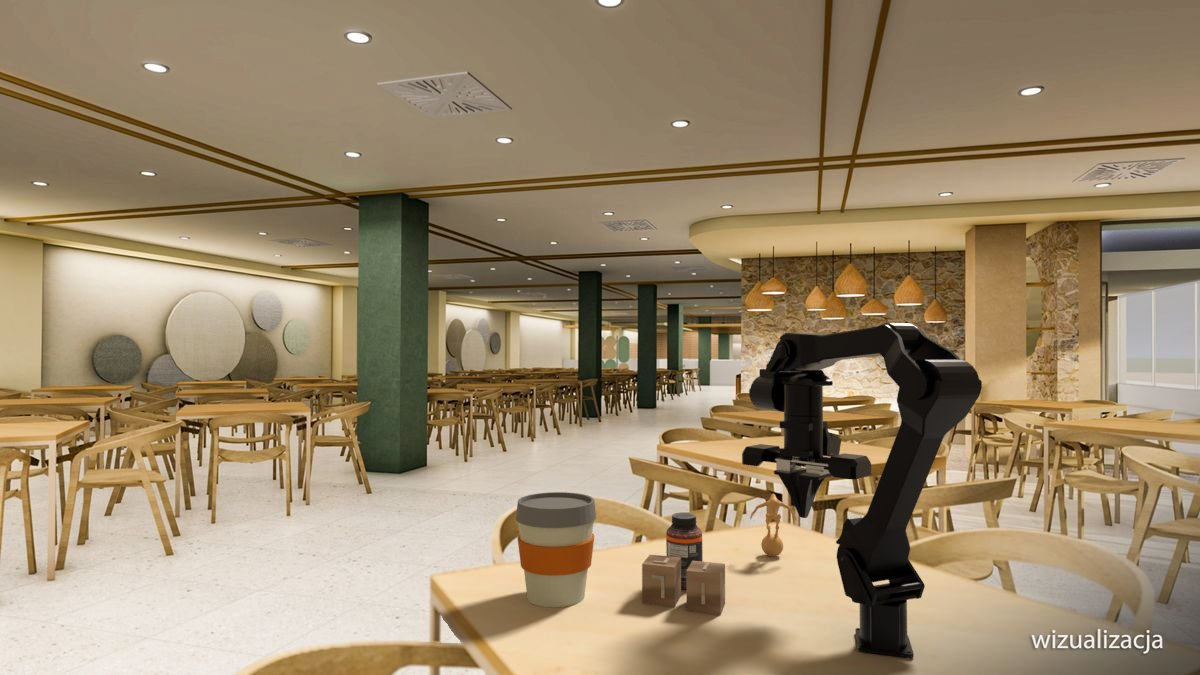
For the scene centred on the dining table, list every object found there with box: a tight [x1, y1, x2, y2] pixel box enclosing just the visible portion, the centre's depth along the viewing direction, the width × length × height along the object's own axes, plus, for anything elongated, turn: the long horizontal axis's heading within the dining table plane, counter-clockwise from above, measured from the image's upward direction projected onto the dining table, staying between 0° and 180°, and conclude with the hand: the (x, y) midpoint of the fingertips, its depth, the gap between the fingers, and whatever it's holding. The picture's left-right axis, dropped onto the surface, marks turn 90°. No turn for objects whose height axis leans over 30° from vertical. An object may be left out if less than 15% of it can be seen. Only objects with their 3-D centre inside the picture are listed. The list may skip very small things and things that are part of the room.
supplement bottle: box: [665, 511, 704, 590], centre depth 110 cm, size 6×6×11 cm
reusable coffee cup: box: [515, 491, 597, 608], centre depth 104 cm, size 13×13×15 cm
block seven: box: [641, 554, 682, 608], centre depth 103 cm, size 5×5×6 cm
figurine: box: [749, 493, 797, 557], centre depth 124 cm, size 8×6×12 cm
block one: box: [685, 561, 726, 616], centre depth 100 cm, size 5×5×6 cm
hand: (803, 517), depth 102 cm, fingers closed
